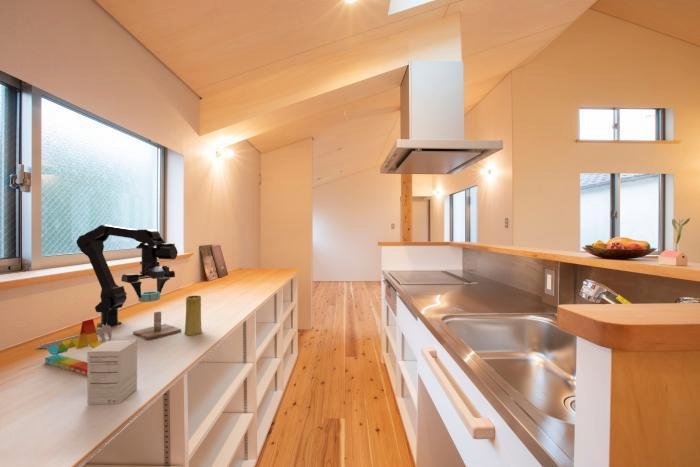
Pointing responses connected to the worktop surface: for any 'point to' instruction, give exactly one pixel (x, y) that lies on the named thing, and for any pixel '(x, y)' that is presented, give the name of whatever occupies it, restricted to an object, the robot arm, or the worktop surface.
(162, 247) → the robot arm
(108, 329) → the caliper
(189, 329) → the vase
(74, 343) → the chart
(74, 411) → the worktop surface
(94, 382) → the supplement box
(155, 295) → the ring
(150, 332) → the post stand
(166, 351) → the worktop surface
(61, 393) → the worktop surface
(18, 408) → the worktop surface
